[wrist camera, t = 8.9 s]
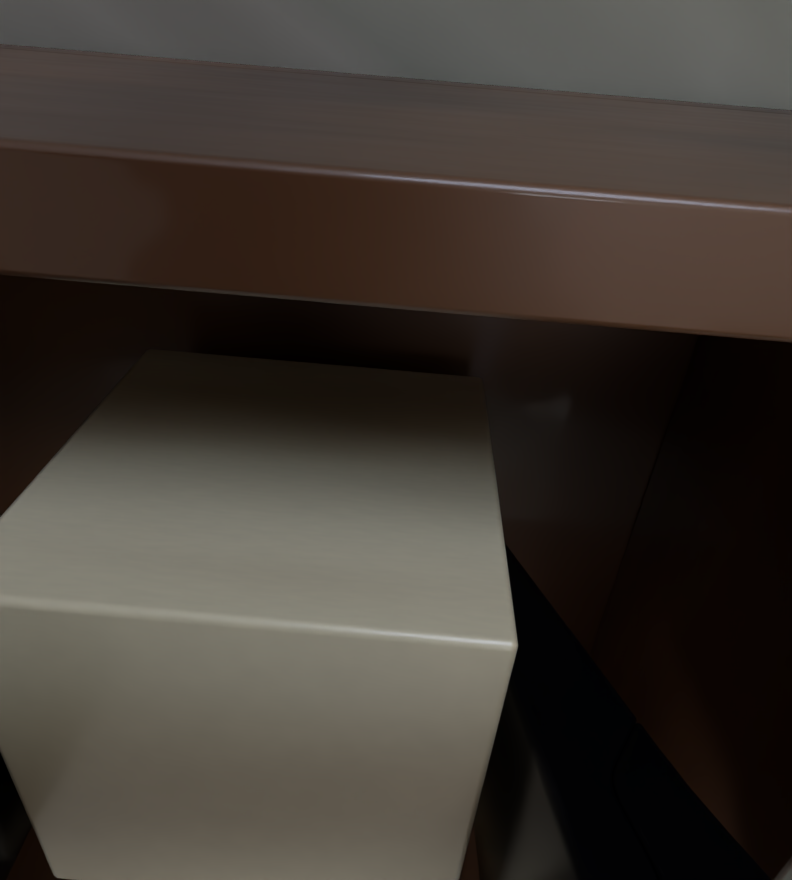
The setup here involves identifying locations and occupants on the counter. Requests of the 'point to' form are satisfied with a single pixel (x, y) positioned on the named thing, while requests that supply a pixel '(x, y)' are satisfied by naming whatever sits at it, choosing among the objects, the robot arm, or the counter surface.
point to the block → (258, 625)
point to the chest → (459, 333)
